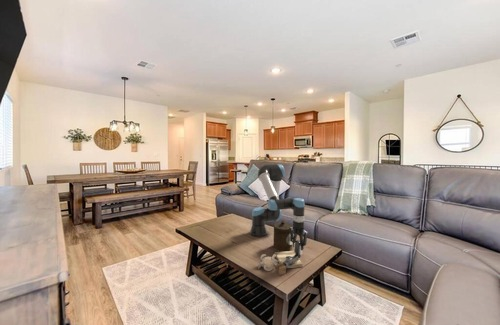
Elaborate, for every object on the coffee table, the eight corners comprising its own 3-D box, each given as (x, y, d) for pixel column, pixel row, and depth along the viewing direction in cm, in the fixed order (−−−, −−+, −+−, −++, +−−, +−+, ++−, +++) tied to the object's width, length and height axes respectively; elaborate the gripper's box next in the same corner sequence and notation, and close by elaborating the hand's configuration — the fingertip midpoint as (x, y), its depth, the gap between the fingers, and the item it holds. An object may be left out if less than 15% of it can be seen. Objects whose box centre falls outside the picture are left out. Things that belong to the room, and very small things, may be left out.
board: (275, 254, 159) (275, 251, 159) (293, 253, 161) (293, 250, 161) (283, 270, 140) (283, 266, 140) (303, 268, 142) (303, 264, 142)
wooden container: (292, 253, 162) (292, 224, 160) (272, 251, 165) (272, 223, 163) (292, 244, 176) (292, 218, 174) (274, 242, 179) (274, 216, 177)
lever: (287, 268, 138) (287, 251, 137) (281, 266, 140) (282, 249, 139) (302, 256, 152) (302, 241, 151) (296, 254, 155) (296, 239, 154)
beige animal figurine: (273, 265, 152) (270, 250, 153) (284, 265, 145) (280, 250, 147) (258, 273, 141) (254, 258, 143) (268, 274, 134) (264, 258, 136)
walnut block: (276, 271, 139) (276, 264, 139) (282, 269, 141) (282, 263, 140) (279, 275, 135) (279, 268, 135) (285, 273, 136) (286, 266, 136)
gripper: (285, 219, 153) (284, 251, 155) (307, 225, 142) (306, 259, 144) (290, 216, 158) (290, 247, 160) (312, 222, 147) (311, 255, 149)
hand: (298, 252), depth 152 cm, fingers closed on lever, 4 cm apart
